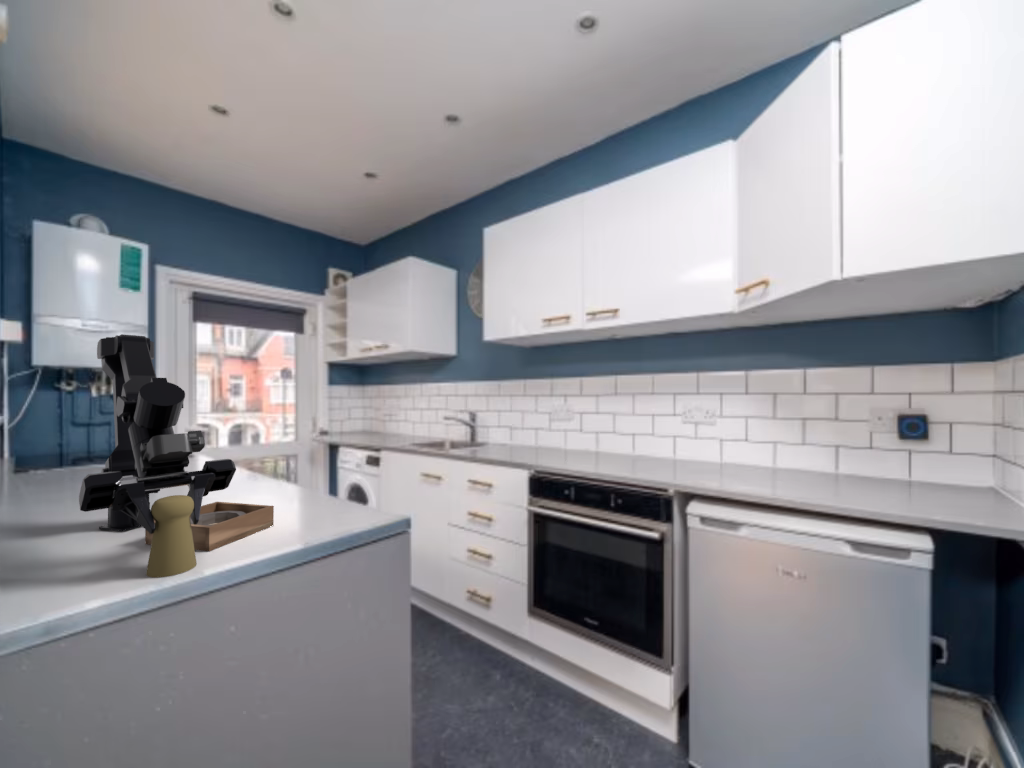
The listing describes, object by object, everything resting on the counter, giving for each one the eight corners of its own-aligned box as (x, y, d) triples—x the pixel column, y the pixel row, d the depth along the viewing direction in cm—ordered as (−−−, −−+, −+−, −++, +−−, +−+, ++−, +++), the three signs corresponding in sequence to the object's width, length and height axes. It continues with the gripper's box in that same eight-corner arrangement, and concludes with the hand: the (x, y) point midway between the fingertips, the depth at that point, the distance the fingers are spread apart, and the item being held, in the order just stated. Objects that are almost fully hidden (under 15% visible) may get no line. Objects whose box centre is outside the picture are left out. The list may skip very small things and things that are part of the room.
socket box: (145, 544, 75) (145, 521, 75) (216, 520, 89) (217, 501, 89) (209, 551, 72) (209, 527, 72) (273, 525, 86) (273, 505, 86)
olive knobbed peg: (168, 579, 62) (169, 502, 62) (135, 575, 63) (136, 500, 63) (206, 562, 67) (207, 492, 68) (175, 559, 69) (176, 491, 69)
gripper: (84, 417, 60) (98, 509, 54) (232, 412, 75) (259, 483, 68) (73, 467, 65) (85, 557, 58) (215, 453, 80) (238, 523, 73)
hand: (175, 527), depth 64 cm, fingers closed on olive knobbed peg, 5 cm apart
